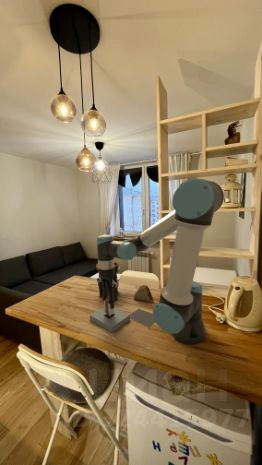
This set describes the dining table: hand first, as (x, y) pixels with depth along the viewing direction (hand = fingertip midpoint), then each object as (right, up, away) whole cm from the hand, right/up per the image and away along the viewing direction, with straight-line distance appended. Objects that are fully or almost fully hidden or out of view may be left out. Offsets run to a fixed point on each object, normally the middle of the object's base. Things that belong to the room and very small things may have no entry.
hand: (109, 312), depth 97 cm
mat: (+17, -3, +2) cm, 18 cm away
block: (0, -4, +1) cm, 4 cm away
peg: (0, -4, +1) cm, 4 cm away
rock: (+18, -1, +21) cm, 27 cm away
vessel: (-3, 0, +30) cm, 30 cm away
